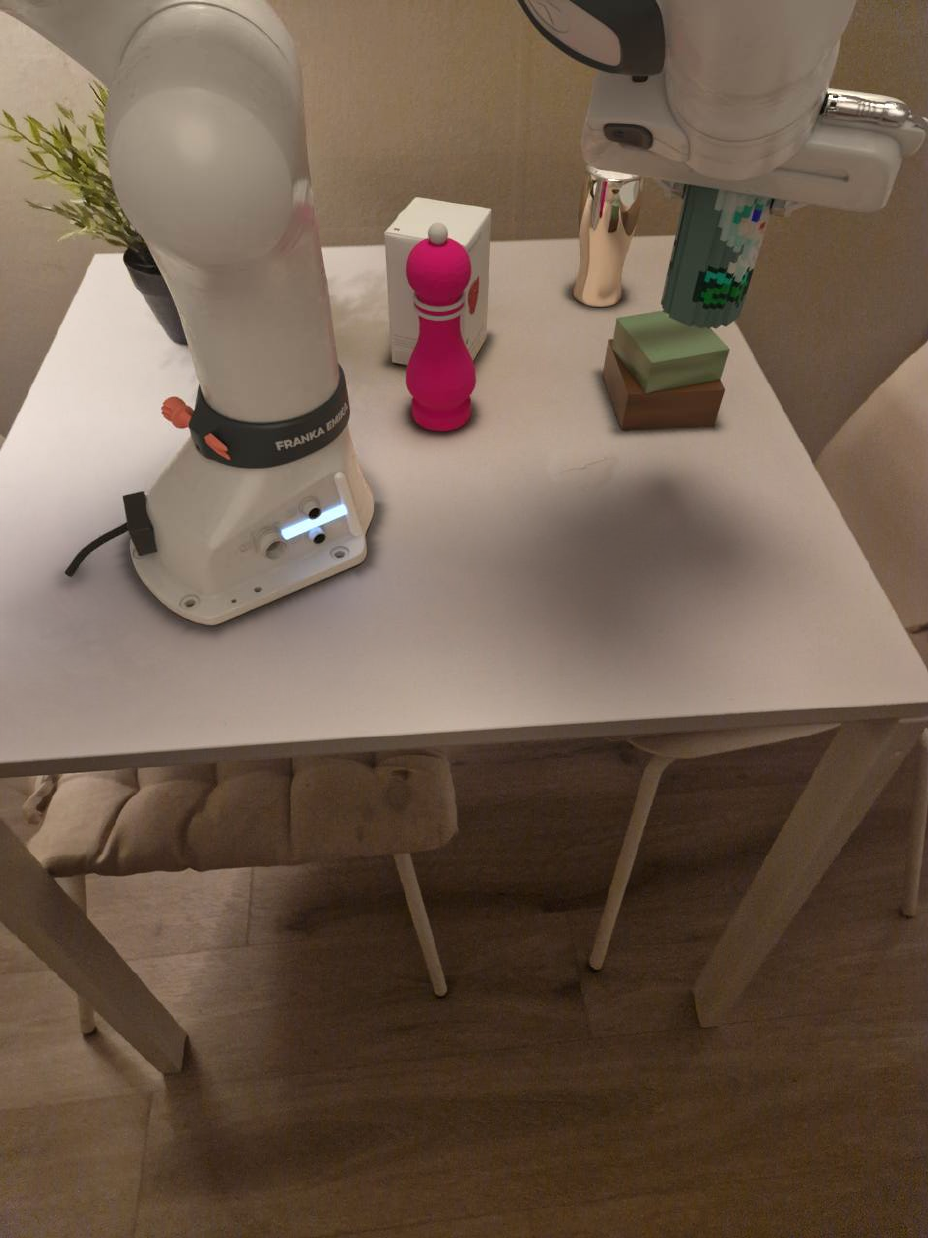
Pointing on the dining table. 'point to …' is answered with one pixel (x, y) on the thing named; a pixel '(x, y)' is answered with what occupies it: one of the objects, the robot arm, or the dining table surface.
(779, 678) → the dining table surface
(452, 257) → the pepper mill
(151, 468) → the dining table surface
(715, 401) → the block stack
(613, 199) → the beer glass
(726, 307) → the can
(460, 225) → the white product box
